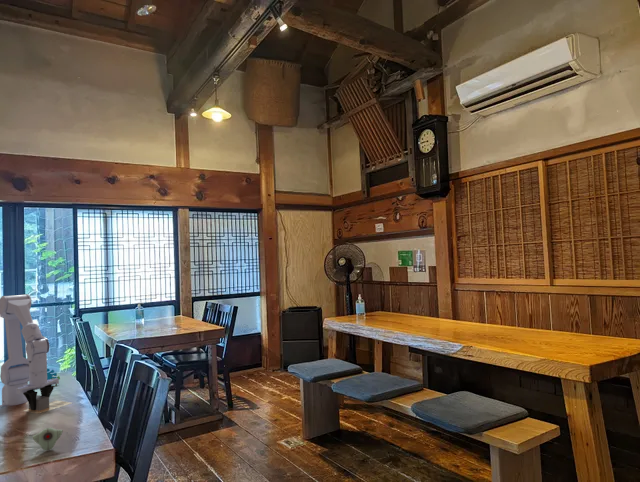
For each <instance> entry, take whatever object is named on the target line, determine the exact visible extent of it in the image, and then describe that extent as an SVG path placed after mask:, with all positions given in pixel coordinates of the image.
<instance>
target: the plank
mask: <svg viewBox="0 0 640 482" xmlns="http://www.w3.org/2000/svg"><path fill="white" fill-rule="evenodd" d="M71 404H72V402H69V401H62V400H54V401H49V409H47V410H44V411H41V412H38V411H32V410H29V408H27V409H23V412H28V413H32V414H37V415H39V414H42V413H45V412H49V411H52V410H54V409H58V408H61V407H64V406H68V405H71Z"/></svg>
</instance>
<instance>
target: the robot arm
mask: <svg viewBox="0 0 640 482" xmlns="http://www.w3.org/2000/svg"><path fill="white" fill-rule="evenodd" d="M31 306H32V298H31V295H30V294H28V293H25V294H18V295H17V294H16V295H14V294H13V295H2V296H1V297H0V318H2V319H4V325H5V333H6V334H5V335H6V345H7V355H8V356H7V357H8V359H7V360H6V361H5V362H3V363H2V365H1V366H0V382H1V383H2V384H3V387H2V389H1V404H0V408H1V407H5V406H17V405H22V404H25V403H27V402H29V403H28V406H29V405H30V408H31V410H36V397H37V395H38V391H35V390H39V391H40V396H46V397H49V398H50V397H51V394H52V392H53V390H54V385H59V383H60V379H58V378H55V379H50V380H47V373H48V372H47V369H48V359H47V356H48V355H47V354H48V353H49V352H50V349H51V348H50V346H51V345H50V341H49V339H48V338H47V337H45V336H44V335H43V334H42V332H41V329H40V327H39V325H38V324H37V323H34V321H33V318H32V314H31V311H30V310H31ZM21 326H22V329H21ZM22 336H23V339H24V341H25V353H26V357H24V352H23V341H22Z"/></svg>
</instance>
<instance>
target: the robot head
mask: <svg viewBox="0 0 640 482" xmlns="http://www.w3.org/2000/svg"><path fill="white" fill-rule="evenodd" d="M63 432H64V429H57V428H53V427H45V428H44V429H42V430H41V431H40V432H37V433H36V434H34V435H32V436H31V438H32V440H33V441H34V443H35V442H36V444H37V445H39V446H40V448H41V449H42V450H43V451H50V450H52V449H54V447H55V445H56V443H57V441H58V440H59V439H60V437H61V436H62V434H63Z"/></svg>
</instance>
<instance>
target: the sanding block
mask: <svg viewBox="0 0 640 482" xmlns="http://www.w3.org/2000/svg"><path fill="white" fill-rule="evenodd" d="M27 402H28V401H27ZM49 403H50V397H46V396H41V394H40V395H39V394H37V397H36V410H32V411H38V412H41V411H44V410H47V409H49ZM28 409H29V410H31V408H30V405H29V402H28Z"/></svg>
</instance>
